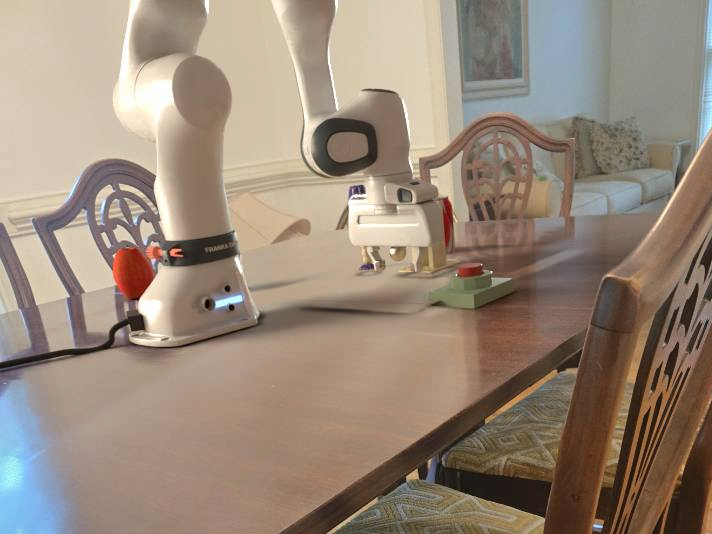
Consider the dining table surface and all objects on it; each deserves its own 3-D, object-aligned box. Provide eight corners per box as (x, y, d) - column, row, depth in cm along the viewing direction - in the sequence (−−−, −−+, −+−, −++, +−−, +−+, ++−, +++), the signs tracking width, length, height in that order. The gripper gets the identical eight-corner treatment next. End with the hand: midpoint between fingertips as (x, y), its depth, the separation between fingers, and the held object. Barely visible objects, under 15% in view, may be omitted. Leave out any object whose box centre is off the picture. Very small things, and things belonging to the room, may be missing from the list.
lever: (403, 265, 144) (397, 251, 142) (390, 264, 146) (383, 251, 143) (438, 214, 148) (432, 200, 146) (425, 215, 150) (419, 200, 148)
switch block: (474, 308, 122) (473, 283, 120) (429, 305, 127) (427, 280, 125) (513, 291, 130) (513, 267, 128) (469, 289, 135) (468, 265, 133)
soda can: (421, 261, 165) (415, 200, 159) (425, 255, 171) (420, 196, 165) (453, 258, 163) (449, 197, 157) (457, 253, 169) (453, 193, 163)
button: (474, 279, 124) (473, 268, 124) (453, 278, 127) (453, 267, 126) (487, 274, 127) (487, 263, 126) (467, 273, 129) (466, 262, 128)
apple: (129, 304, 157) (114, 248, 151) (113, 300, 162) (98, 247, 157) (166, 295, 161) (152, 241, 156) (149, 291, 167) (136, 239, 161)
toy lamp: (353, 276, 158) (341, 187, 150) (361, 271, 162) (350, 184, 154) (375, 274, 157) (364, 185, 148) (382, 270, 160) (372, 182, 152)
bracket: (431, 278, 148) (425, 206, 141) (399, 276, 152) (392, 207, 146) (461, 267, 154) (456, 198, 148) (429, 266, 159) (423, 199, 152)
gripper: (336, 195, 143) (346, 272, 149) (423, 192, 131) (430, 276, 137) (358, 190, 147) (367, 266, 153) (445, 187, 135) (451, 269, 142)
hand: (398, 271), depth 145 cm, fingers open, 8 cm apart
